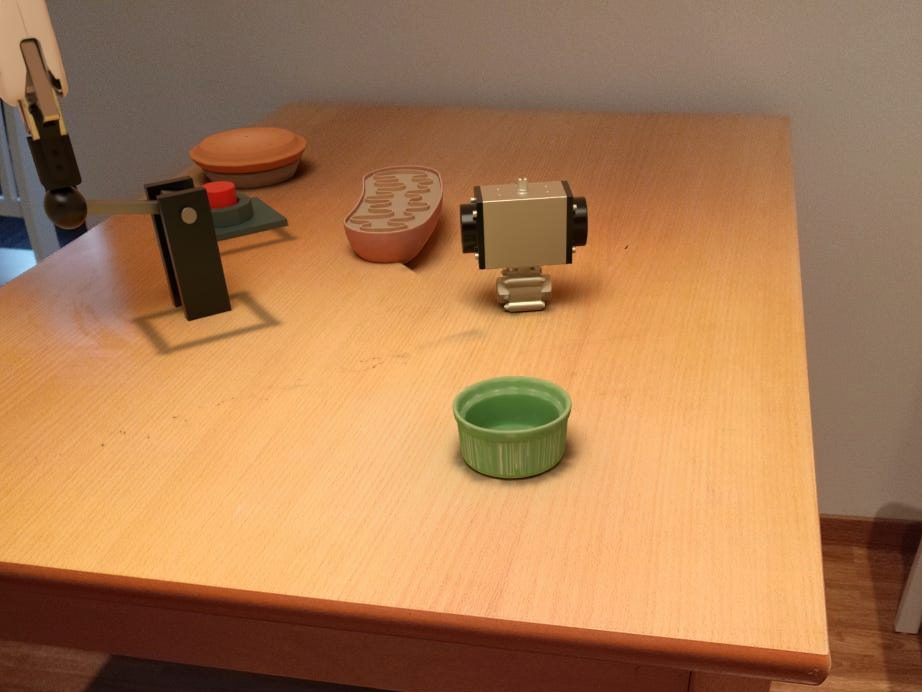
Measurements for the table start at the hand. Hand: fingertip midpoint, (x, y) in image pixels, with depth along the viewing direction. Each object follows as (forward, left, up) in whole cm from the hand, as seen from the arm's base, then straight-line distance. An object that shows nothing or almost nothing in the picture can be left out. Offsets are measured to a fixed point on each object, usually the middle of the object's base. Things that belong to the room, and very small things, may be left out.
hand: (62, 184), depth 88 cm
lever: (+4, 0, -5) cm, 6 cm away
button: (+20, +22, -11) cm, 32 cm away
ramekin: (+22, -39, -15) cm, 47 cm away
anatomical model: (+36, +8, -15) cm, 39 cm away
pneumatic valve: (+38, -15, -15) cm, 43 cm away
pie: (+31, +43, -15) cm, 55 cm away
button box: (+20, +22, -15) cm, 33 cm away
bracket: (+10, 0, -15) cm, 18 cm away
